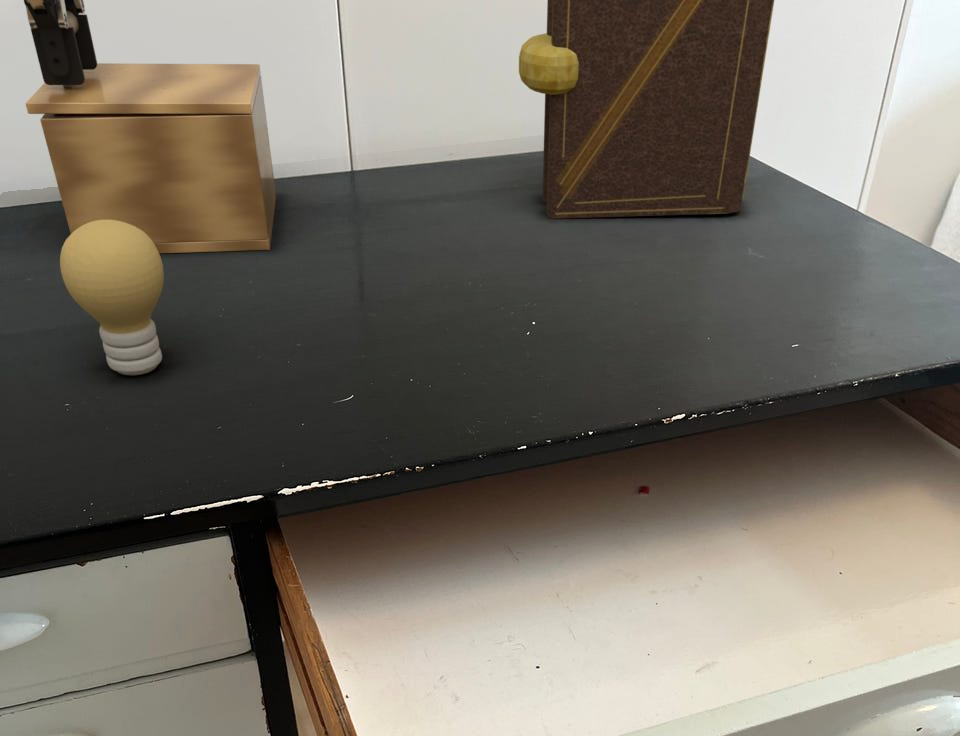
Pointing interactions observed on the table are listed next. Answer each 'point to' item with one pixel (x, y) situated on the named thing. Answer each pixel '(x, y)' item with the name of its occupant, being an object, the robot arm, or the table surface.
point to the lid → (152, 89)
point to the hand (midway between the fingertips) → (71, 73)
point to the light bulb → (117, 289)
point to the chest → (169, 175)
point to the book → (647, 104)
